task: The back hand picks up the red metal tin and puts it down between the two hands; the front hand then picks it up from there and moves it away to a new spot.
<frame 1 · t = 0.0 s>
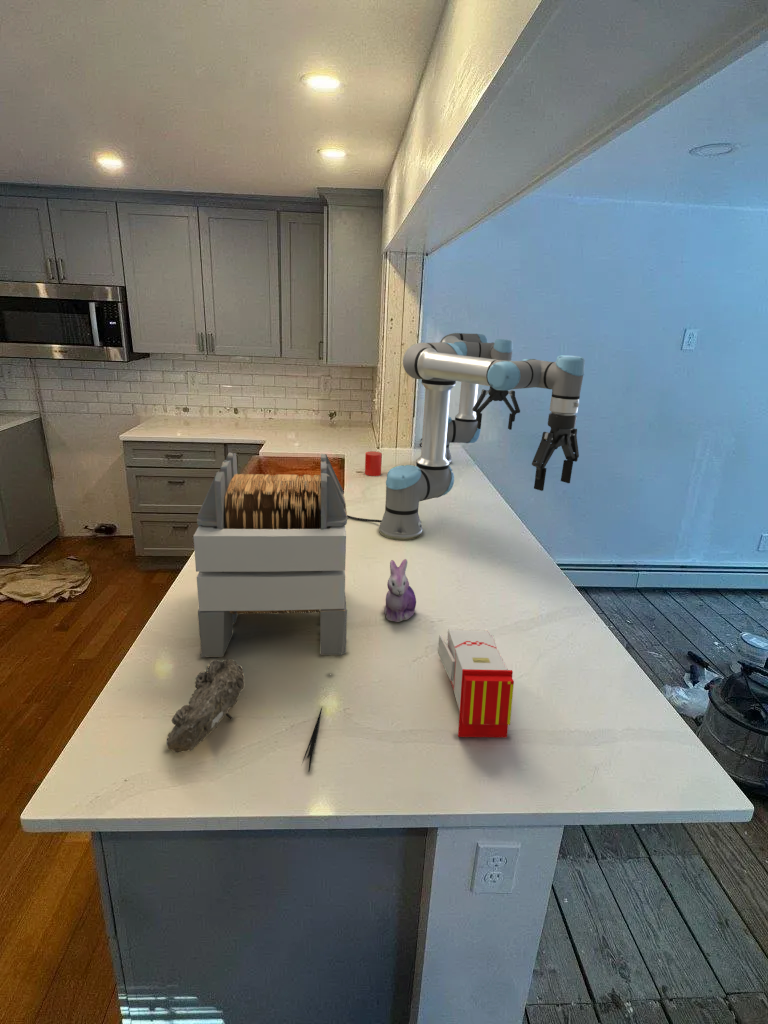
front hand: (552, 485, 166), 28 cm above the counter, tool pointing down, fingers open, 13 cm apart
back hand: (494, 428, 243), 28 cm above the counter, tool pointing down, fingers open, 13 cm apart
tin: (372, 473, 271), on the counter
toy: (469, 691, 119), on the counter
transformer: (278, 619, 143), on the counter
feather: (319, 719, 109), on the counter
fossil: (212, 717, 108), on the counter
figurine: (399, 614, 147), on the counter
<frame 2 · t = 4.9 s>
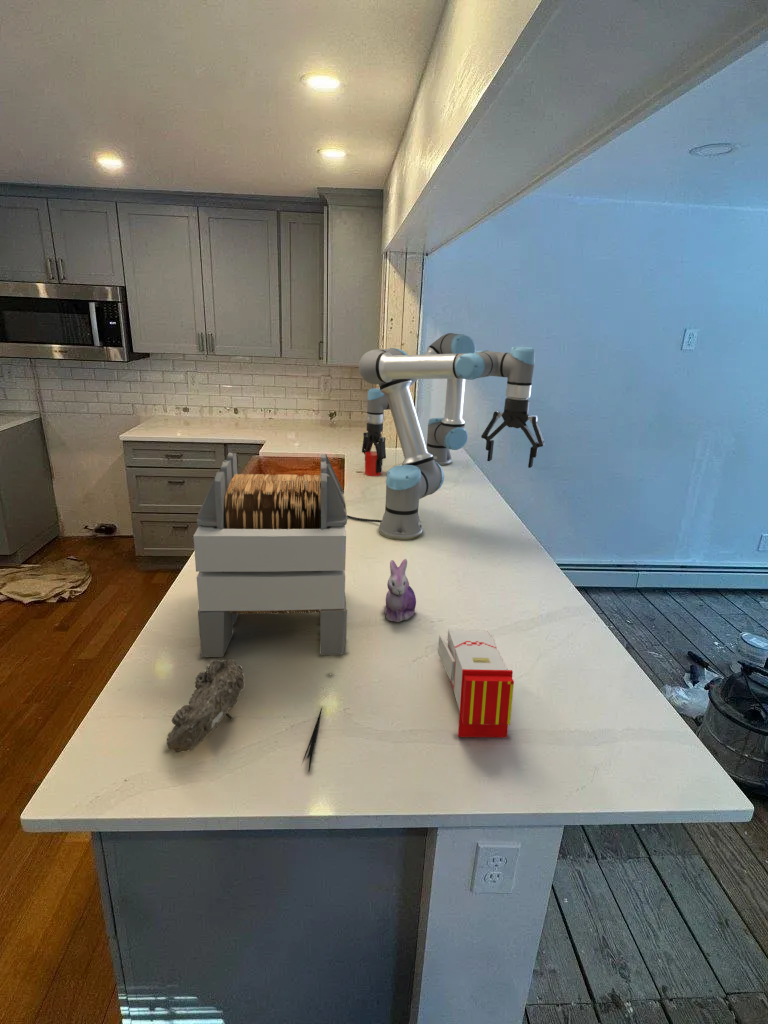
front hand: (509, 463, 185), 29 cm above the counter, tool pointing down, fingers open, 13 cm apart
back hand: (373, 470, 270), 2 cm above the counter, tool pointing down, fingers closed on tin, 8 cm apart
tin: (372, 473, 271), on the counter, touching back hand
everything else where it was.
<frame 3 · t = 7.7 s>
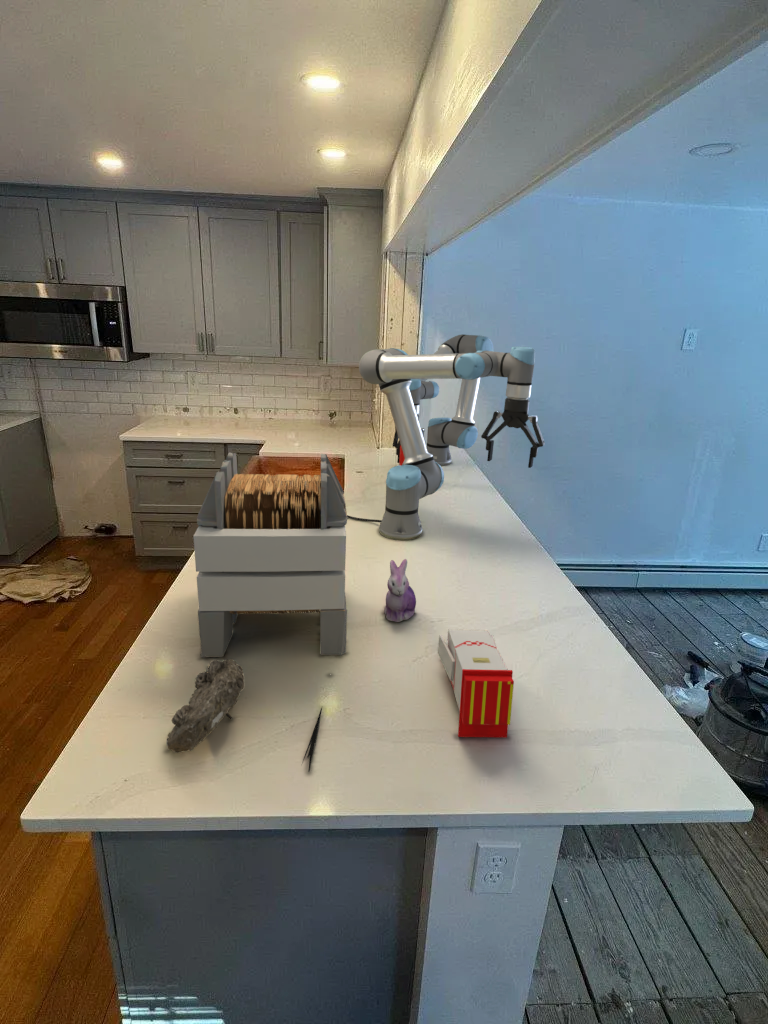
front hand: (509, 463, 185), 29 cm above the counter, tool pointing down, fingers open, 13 cm apart
back hand: (407, 463, 259), 8 cm above the counter, tool pointing down, fingers closed on tin, 8 cm apart
tin: (407, 467, 260), point 6 cm above the counter, touching back hand
everything else where it was.
when the back hand's fingers open (3 cm above the counter, at t = 10.9 s): tin drops 1 cm, on the counter.
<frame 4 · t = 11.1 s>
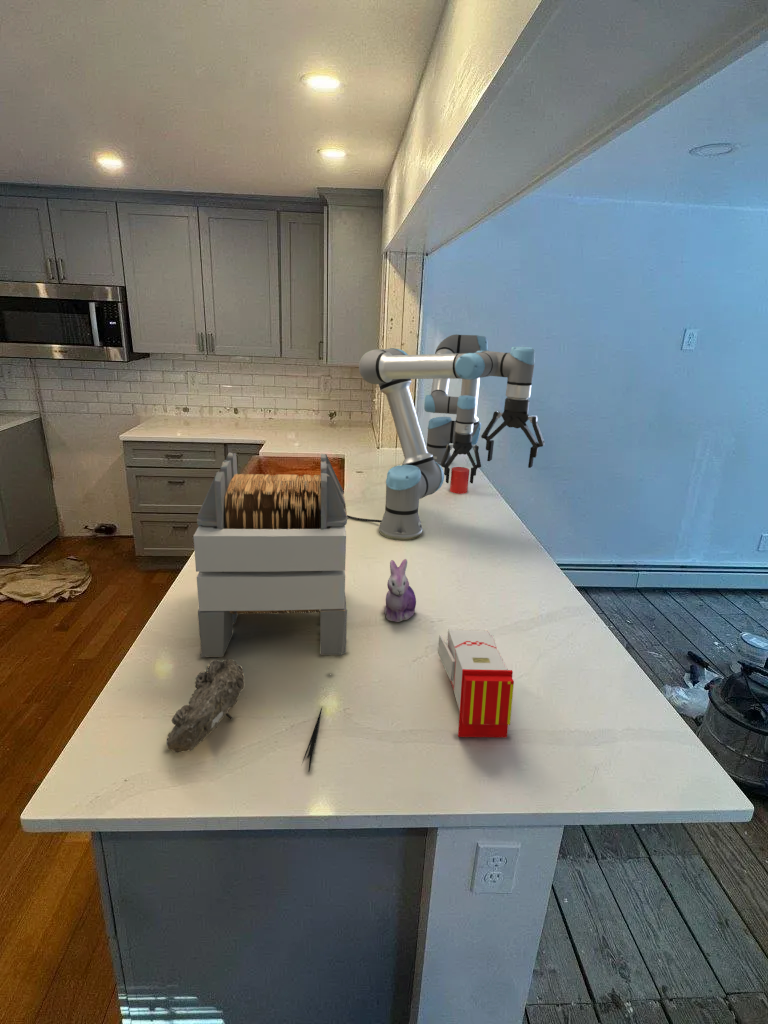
front hand: (509, 463, 185), 29 cm above the counter, tool pointing down, fingers open, 13 cm apart
back hand: (459, 482, 249), 4 cm above the counter, tool pointing down, fingers open, 10 cm apart
tin: (458, 491, 250), on the counter
everything else where it was.
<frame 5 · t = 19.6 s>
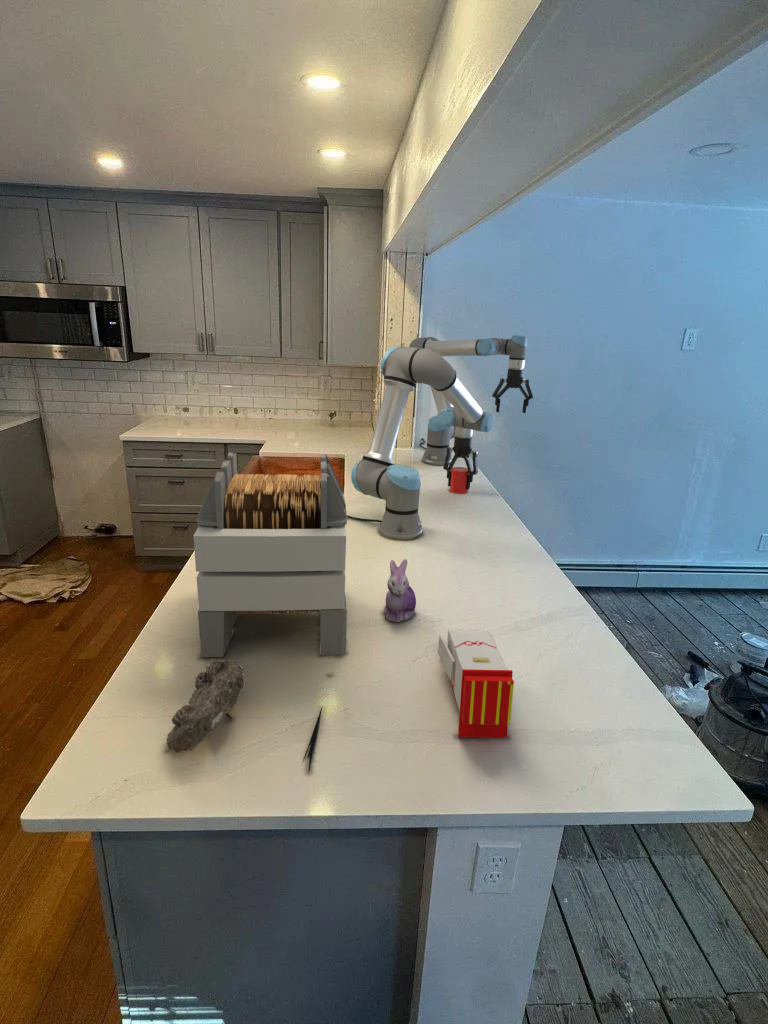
front hand: (458, 487, 250), 2 cm above the counter, tool pointing down, fingers closed on tin, 8 cm apart
back hand: (510, 412, 282), 28 cm above the counter, tool pointing down, fingers open, 13 cm apart
tin: (458, 491, 250), on the counter, touching front hand
everything else where it was.
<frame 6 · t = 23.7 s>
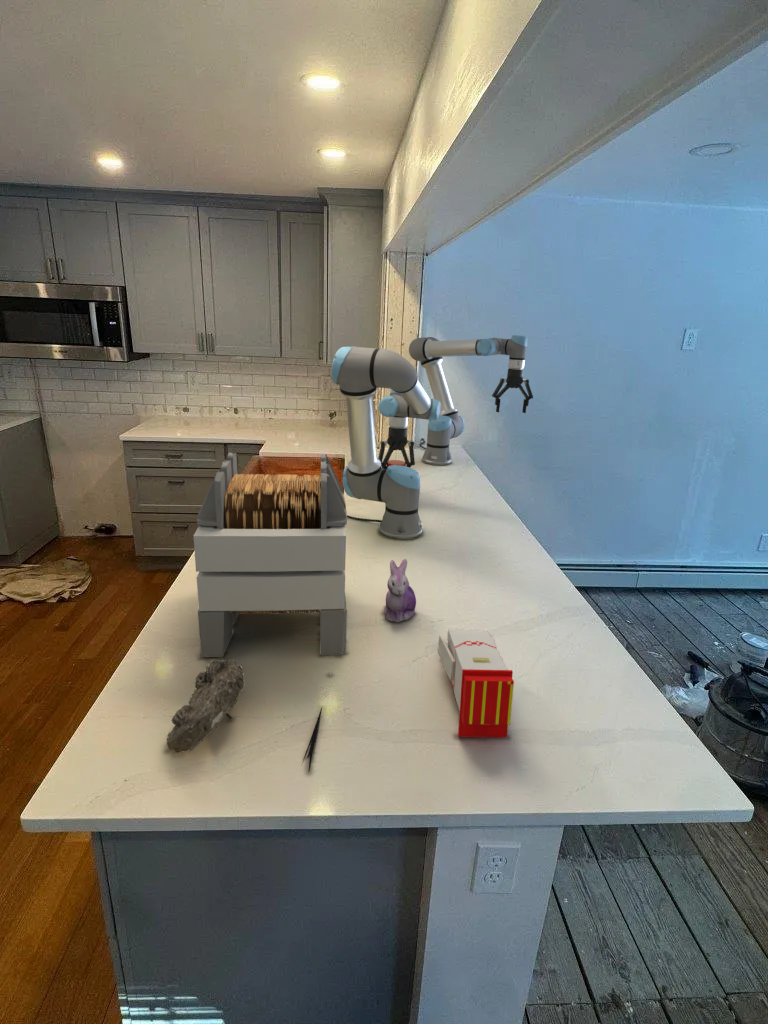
front hand: (395, 481, 232), 8 cm above the counter, tool pointing down, fingers closed on tin, 8 cm apart
back hand: (510, 412, 282), 28 cm above the counter, tool pointing down, fingers open, 13 cm apart
tin: (394, 486, 233), point 6 cm above the counter, touching front hand
everything else where it was.
when the front hand's fingers open (3 cm above the counter, at t = 28.1 s): tin drops 2 cm, on the counter.
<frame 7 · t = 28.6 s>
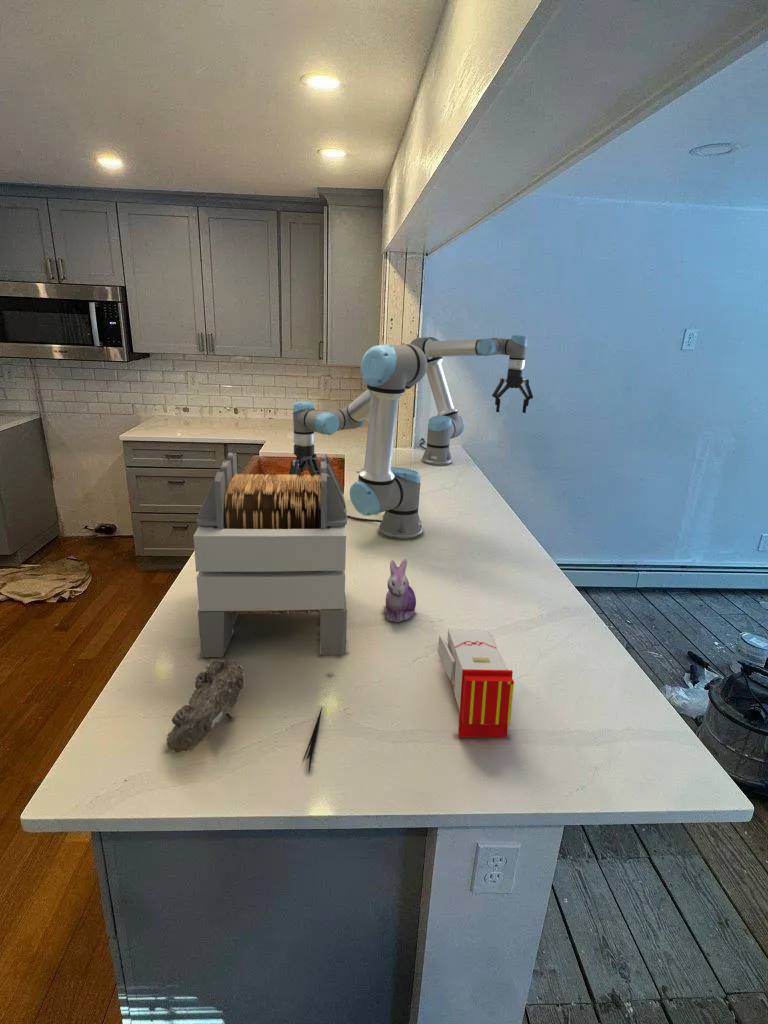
front hand: (304, 499, 215), 5 cm above the counter, tool pointing down, fingers open, 13 cm apart
back hand: (510, 412, 282), 28 cm above the counter, tool pointing down, fingers open, 13 cm apart
tin: (304, 511, 217), on the counter
everything else where it was.
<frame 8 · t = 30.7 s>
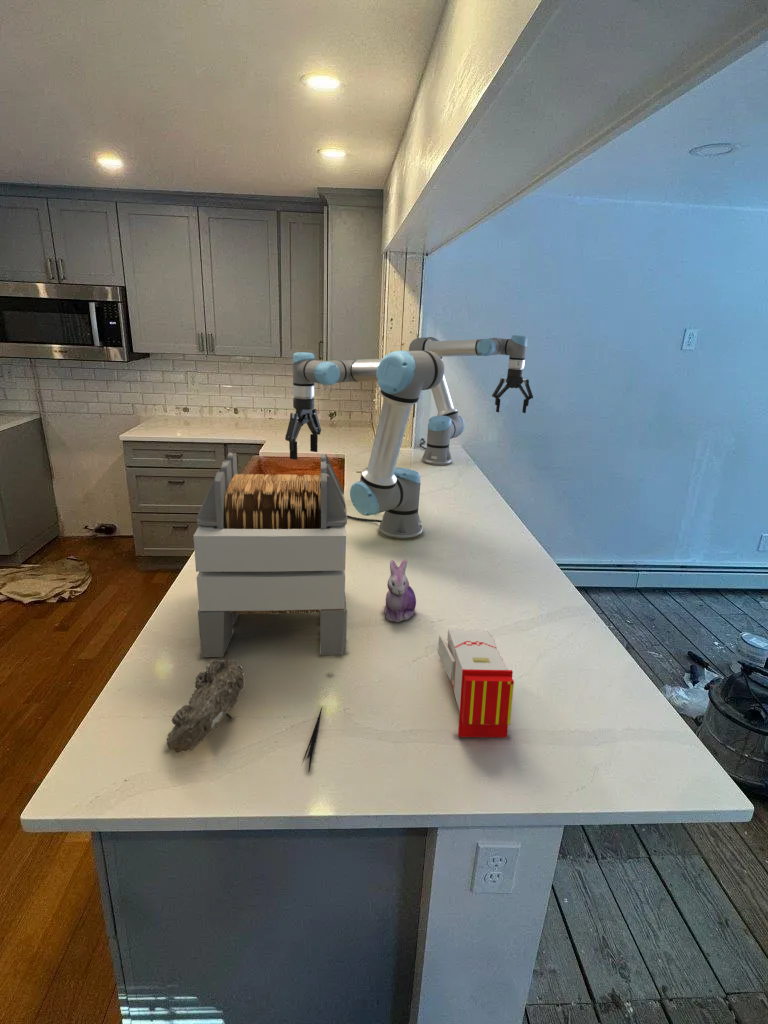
front hand: (304, 455, 210), 22 cm above the counter, tool pointing down, fingers open, 13 cm apart
back hand: (510, 412, 282), 28 cm above the counter, tool pointing down, fingers open, 13 cm apart
nothing on the counter moved.
at the end: tin inside the target area (0.1 cm from its centre), on the counter; tin tilted 0°; the two hands never held the tin at the same time; the front hand is holding nothing; the back hand is holding nothing; tin at rest at the end (0.0 cm/s) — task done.
